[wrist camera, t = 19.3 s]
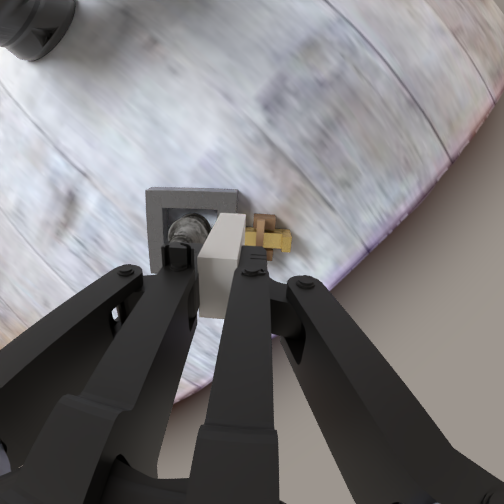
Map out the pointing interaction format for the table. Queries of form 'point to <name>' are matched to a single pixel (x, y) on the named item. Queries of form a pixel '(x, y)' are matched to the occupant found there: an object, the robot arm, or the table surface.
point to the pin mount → (260, 224)
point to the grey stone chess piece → (189, 229)
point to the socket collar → (180, 198)
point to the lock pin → (270, 238)
